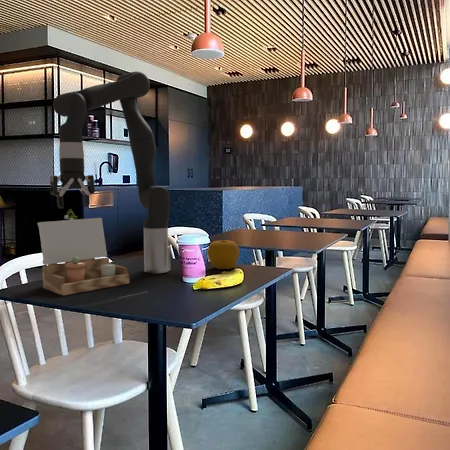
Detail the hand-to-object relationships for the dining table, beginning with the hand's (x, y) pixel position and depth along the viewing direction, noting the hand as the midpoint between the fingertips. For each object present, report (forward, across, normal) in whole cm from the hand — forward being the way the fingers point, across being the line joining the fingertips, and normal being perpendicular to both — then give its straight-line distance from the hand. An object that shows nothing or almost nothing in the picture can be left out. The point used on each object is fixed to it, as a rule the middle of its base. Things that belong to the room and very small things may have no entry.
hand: (73, 207), depth 160 cm
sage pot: (+26, -11, +1) cm, 29 cm away
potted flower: (+27, -13, -25) cm, 39 cm away
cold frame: (+27, -4, -2) cm, 27 cm away
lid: (+12, -4, -8) cm, 14 cm away
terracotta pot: (+26, 0, 0) cm, 26 cm away
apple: (+27, -60, +8) cm, 66 cm away
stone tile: (+27, -9, +14) cm, 32 cm away
